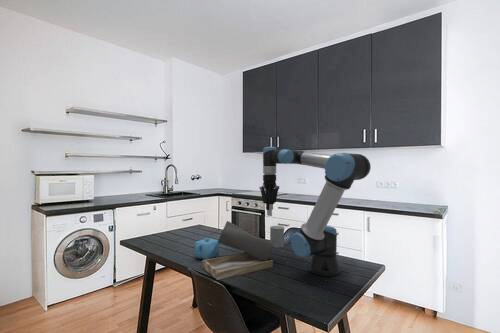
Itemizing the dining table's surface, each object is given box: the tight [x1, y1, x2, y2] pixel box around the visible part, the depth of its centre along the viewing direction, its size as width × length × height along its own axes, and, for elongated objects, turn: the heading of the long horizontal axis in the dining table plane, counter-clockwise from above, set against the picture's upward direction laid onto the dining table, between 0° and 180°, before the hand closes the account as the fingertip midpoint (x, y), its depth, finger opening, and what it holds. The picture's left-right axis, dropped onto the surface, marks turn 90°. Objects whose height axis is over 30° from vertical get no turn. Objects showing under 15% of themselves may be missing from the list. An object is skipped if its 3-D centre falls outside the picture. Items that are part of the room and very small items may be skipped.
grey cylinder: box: [269, 225, 285, 248], centre depth 183 cm, size 10×10×12 cm
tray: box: [201, 252, 274, 281], centre depth 143 cm, size 19×32×4 cm, turn 122°
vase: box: [217, 220, 274, 261], centre depth 155 cm, size 12×12×30 cm
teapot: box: [194, 237, 221, 260], centre depth 157 cm, size 16×18×11 cm
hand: (269, 215), depth 154 cm, fingers closed
